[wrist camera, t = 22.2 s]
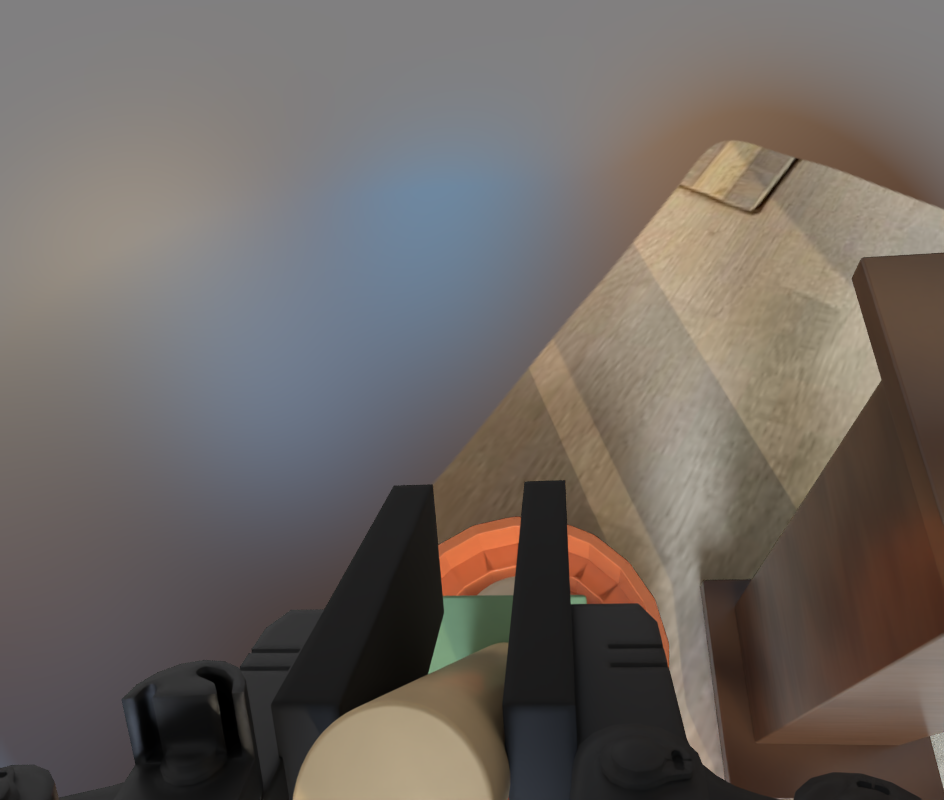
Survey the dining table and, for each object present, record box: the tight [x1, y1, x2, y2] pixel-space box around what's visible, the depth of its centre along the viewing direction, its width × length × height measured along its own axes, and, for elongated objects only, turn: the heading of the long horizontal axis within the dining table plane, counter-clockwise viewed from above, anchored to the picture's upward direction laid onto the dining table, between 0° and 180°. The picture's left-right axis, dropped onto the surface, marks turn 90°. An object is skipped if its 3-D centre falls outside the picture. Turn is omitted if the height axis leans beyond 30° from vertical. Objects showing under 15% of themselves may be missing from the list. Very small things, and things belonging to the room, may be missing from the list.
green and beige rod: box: [293, 576, 587, 800], centre depth 17 cm, size 23×5×5 cm
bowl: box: [438, 516, 669, 800], centre depth 40 cm, size 14×14×6 cm
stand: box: [700, 253, 944, 800], centre depth 28 cm, size 13×10×28 cm
